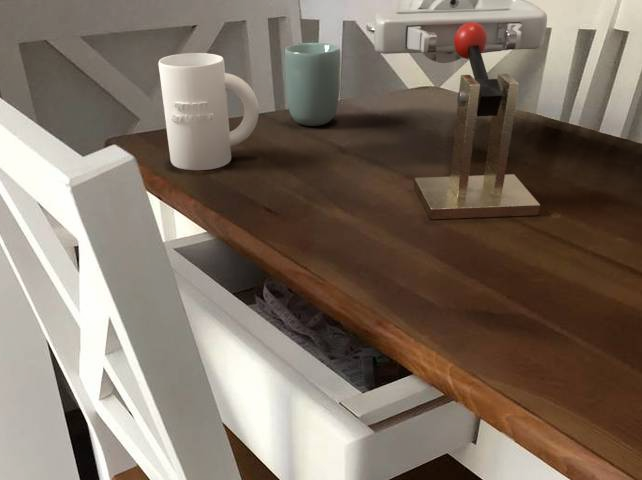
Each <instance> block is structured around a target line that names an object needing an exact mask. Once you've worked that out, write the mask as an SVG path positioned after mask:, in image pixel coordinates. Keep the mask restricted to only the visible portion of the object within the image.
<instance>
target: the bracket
mask: <svg viewBox="0 0 642 480" xmlns="http://www.w3.org/2000/svg"><path fill="white" fill-rule="evenodd" d="M496 79H497V80H498V83H499V86H500V90H501V93H502V99H501V102H500V106H499V110H498V113H497V116H491V123H490V131H489V137H488V144H487V151H486V152H487V153H486V159H485V166H484V167H485V168H484V174H483V175H470V171H471V163H472V153H473V147H474V146H473V145H474V139H475V131H476V122H477V107H478V99H479V91H480V84H479V83H478V82H477V81H476V80H475V79H474V76H473V75H471V74H461V75H460V79H459V80H460V81H459V88H458V93H457V97H456V102H457V107H456V108H457V109H456V115H455V126H454V134H453V135H454V136H453V143H452V152H451V154H452V155H451V162H450V173H449V176H431V177H428V176H427V177H414V181H413V182H414V183H413V188H414V190H415V192H416V195H417V196H418V198H419V200H420V202H421V204H422V206H423V208H424V210H425V212H426V214H427V216H428V217H429V219H430V220H452V219H454V220H455V219H457V220H458V219H478V218H479V219H480V218H505V217H506V218H507V217H531V216H539V213H540V209H541V208H540V207H541V204H540V203H539V201H538V200H537V199H536V198H535V197H534V196H533V195H532V193H531V192H530V191H529V190H528V189H527V187H526V186H525V185H524V184H523V183H522V182H521V181H520V179H519V178H518V177H517V176H516V174H514V173H513V174H512V173H511V174H506V170H507V166H508V165H507V164H508V158H509V151H510V147H511V146H510V145H511V138H512V132H513V126H514V119H515V113H516V107H517V99H518V94H519V87H520V83H519V82H518V81H517V80H516V79H514V78H513V77H512V76H511V75H509V74H508V73H497V78H496Z"/></svg>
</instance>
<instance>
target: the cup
mask: <svg viewBox="0 0 642 480" xmlns="http://www.w3.org/2000/svg"><path fill="white" fill-rule="evenodd" d="M341 55H342V53H341V47H340V46H339V45H337V44H333V43H326V42H325V43H324V42H302V43H296V44H291V45H288V46H287V47H285V49H284V80H285V82H284V83H285V92H286V93H285V95H286V102H287V103H286V104H287V107H288V111H289V115H290V117H291V118H292V119H293V121H294V122H295V123H297V124H299V125H302V126H306V127H321V126H324V125H326V124H328V123H330V122H331V121H332V120H333V119H334V118H335V115H336V114H337V111H338V107H339V100H340V90H341V62H342V61H341Z"/></svg>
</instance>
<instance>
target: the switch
mask: <svg viewBox="0 0 642 480" xmlns="http://www.w3.org/2000/svg"><path fill="white" fill-rule="evenodd" d="M486 43H487V34H486V31H485V29H484V28H483V27H482V26H481V25H480V24H478V23H476V22H469V23H466V24H464V25H463V26H461V27H460V28H459V30H458V31H457V33H456V35H455V38H454V46H455V50H456V52H457V53H458V54H459V55H460V56H461V57H463V58H462V59H466V60H468V61H469V64H470V67H471V70H472V76H473V78H474V79H475V80H476V81H477V82H478V83H479V84H480V91H479V99H478V107H477V115H476V117H492V116H497V113H498V110H499V106H500V102H501V99H502V93H501V90H500V86H499V83H498V80H497V78H489V76H488V72H487V68H486V66H485V62H484V58H483V55H482V54H483V53H482V52H483V50H484V48H485V46H486Z"/></svg>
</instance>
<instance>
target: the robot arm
mask: <svg viewBox="0 0 642 480" xmlns="http://www.w3.org/2000/svg"><path fill="white" fill-rule="evenodd" d="M469 22H476V23H478V24H480V25H481V26H482V27H483V28H484V29H485V31H486V34H487V43H486V46H485V48H484V50H483V52H482V53H481V54H487V53H494V52H502V51H510V50H537V49H540V48H541V47H542V46H543V44H544V41H545V37H546V31H547V25H548V15H547V13H546V11H544V10H543V9H542V8H540V7H539V6H537V5H535V4H534V3H532V2H530V1H528V0H397V9H390V10H382V11H378V12H377V13H376V14H375V16H374V21H369V22H367V23H366V26H365V28H366V31H367V33H369V34H372V35H373V47H374V51H375V52H376V53H379V54H383V55H390V54H391V55H393V54H419V53H422V54H423V56H425V57H426V58H427V59H429V60H430V61H433V62H435V63H438V64H439V63H440V64H448V63H453V62H457V61H459V60H461V59H464V58H463V57H461V56H460V55H459V54H458V53H457V52H456V50H455V46H454V38H455V35H456V33H457V31H458V30H459V28H460V27H461V26H463V25H464V24H466V23H469Z"/></svg>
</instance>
